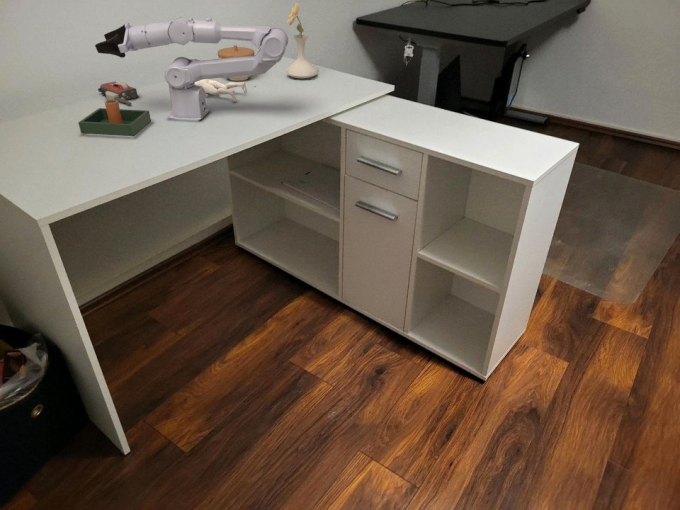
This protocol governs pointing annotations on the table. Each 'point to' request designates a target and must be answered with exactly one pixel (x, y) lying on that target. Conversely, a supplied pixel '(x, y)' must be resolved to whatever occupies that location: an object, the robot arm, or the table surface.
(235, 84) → the superhero figure
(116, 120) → the tube
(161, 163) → the table surface
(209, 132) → the table surface
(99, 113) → the basket
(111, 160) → the table surface
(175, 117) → the robot arm
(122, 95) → the walkie-talkie
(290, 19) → the flower in vase
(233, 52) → the dishware bowl
